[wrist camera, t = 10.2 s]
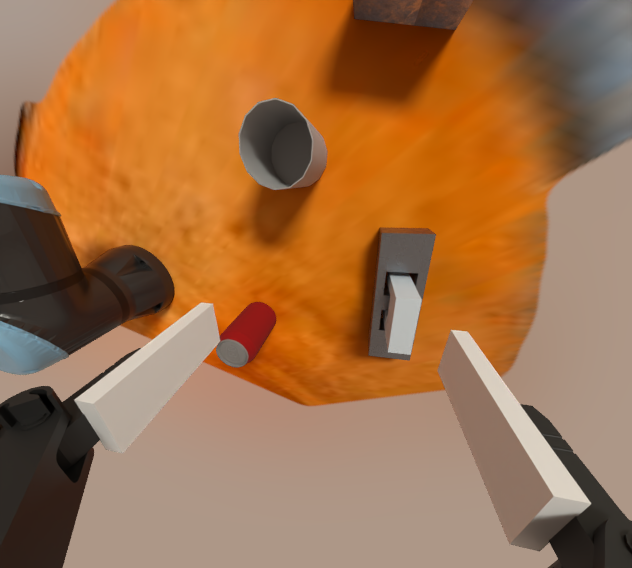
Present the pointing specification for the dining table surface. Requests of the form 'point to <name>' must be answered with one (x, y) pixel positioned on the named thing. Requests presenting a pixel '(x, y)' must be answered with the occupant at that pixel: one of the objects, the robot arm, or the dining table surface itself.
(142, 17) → the dining table surface
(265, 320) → the beverage can
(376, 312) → the block with rectangular holes
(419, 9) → the ruin model on sheet
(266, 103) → the cup
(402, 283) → the upright white panel
